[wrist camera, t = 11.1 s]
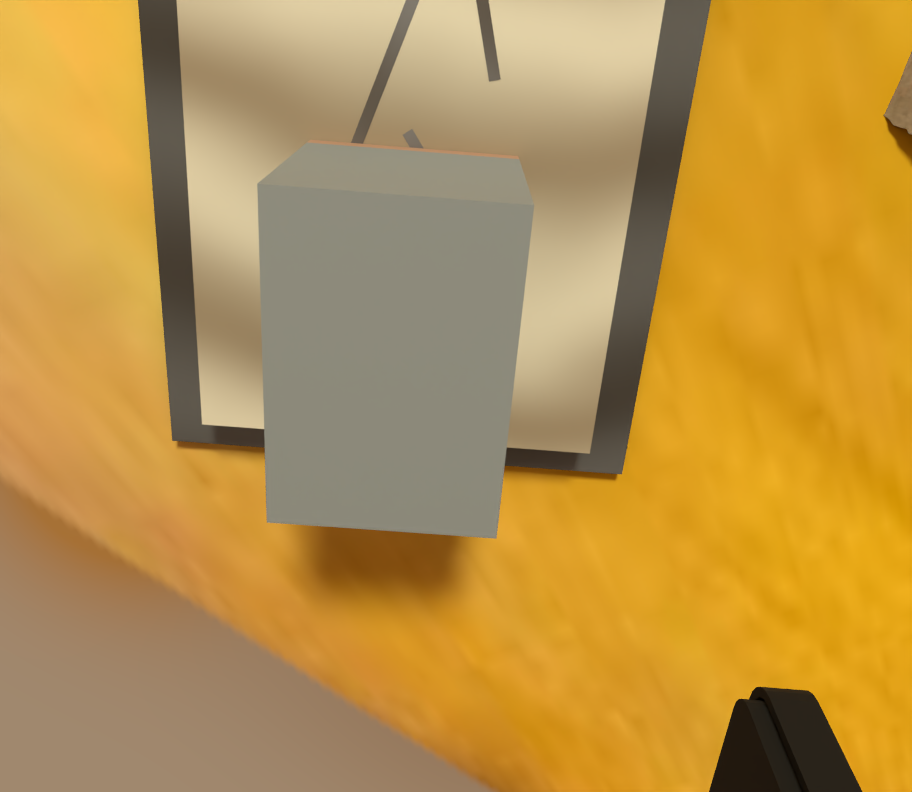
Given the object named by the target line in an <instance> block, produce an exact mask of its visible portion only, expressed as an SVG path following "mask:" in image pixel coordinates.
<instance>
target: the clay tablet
mask: <svg viewBox="0 0 912 792" xmlns="http://www.w3.org/2000/svg"><path fill="white" fill-rule="evenodd" d="M884 116H885V117H887V118H888V119H889V120H890V121H891V123H892V124H893V125H894V126H897V127H900V128H904V129H907V131H908V133H909V134H912V52H911V55H910V57H909V60H908V62H907V64H906V67H905V69H904V72H903V75H902V77H901V80H900V82H899V84H898V87H897V89H896V91H895V93H894V95H893V97H892V99H891V101H890V103H889V106H888V108H887V110H886V113H885V114H884Z"/></svg>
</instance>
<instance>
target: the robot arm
mask: <svg viewBox="0 0 912 792" xmlns="http://www.w3.org/2000/svg"><path fill="white" fill-rule="evenodd" d="M709 792H862V790H861V788H860V786H859V784H858V782H857V780H856V778H855V776H854V774H853V772H852V770H851V768H850V766H849V764H848V762H847V760H846V758H845V756H844V754H843V752H842V750H841V748H840V745H839V743H838V741H837V739H836V737H835V735H834V733H833V731H832V729H831V727H830V725H829V723H828V721H827V719H826V717H825V715H824V713H823V711H822V709H821V707H820V705H819V703H818V701H817V700H816V698H815V696H814V695H813V694H812V693H810V692H809V691H805V690H792V689H779V688H767V687H756V688H755V689H754V690H753V691H752V694H751V696H750V698H749V700H747V699H739V700H738V701H737V702H736V703H735V706H734V709H733V712H732V715H731V719H730V722H729V726H728V729H727V732H726V736H725V739H724V743H723V746H722V750H721V753H720V756H719V760H718V763H717V767H716V770H715V773H714V777H713V780H712V784H711V787H710V790H709Z"/></svg>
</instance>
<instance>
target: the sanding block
mask: <svg viewBox="0 0 912 792" xmlns="http://www.w3.org/2000/svg"><path fill="white" fill-rule="evenodd" d="M257 192H258V227H259V262H260V298H261V333H262V368H263V403H264V438H265V473H266V508H267V522H269V523H283V524H297V525H312V526H326V527H340V528H354V529H369V530H383V531H397V532H411V533H426V534H440V535H454V536H468V537H482V538H496V537H497V528H498V519H499V510H500V501H501V493H502V484H503V475H504V466H505V458H506V449H507V440H508V431H509V423H510V414H511V405H512V396H513V388H514V379H515V370H516V361H517V352H518V344H519V335H520V326H521V317H522V309H523V300H524V291H525V282H526V274H527V265H528V256H529V247H530V238H531V230H532V221H533V212H534V203H533V200H532V197H531V194H530V190H529V187H528V184H527V181H526V178H525V175H524V172H523V169H522V166H521V163H520V160H519V157H518V156H512V155H499V154H486V153H474V152H461V151H448V150H435V149H423V148H410V147H397V146H384V145H372V144H359V143H346V142H334V141H321V140H309V141H308V142H307V143H306V144H304V145H303V146H302V147H301V148H300V149H298V150H297V151H296V152H295V153H294V154H292V155H291V156H290V157H289V158H288V159H286V160H285V161H284V162H283V163H282V164H280V165H279V166H278V167H277V168H276V169H274V170H273V171H272V172H271V173H270V174H268V175H267V176H266V177H265V178H263V179H262V180H261V181H260V182H259V183H257Z"/></svg>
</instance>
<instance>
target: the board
mask: <svg viewBox="0 0 912 792" xmlns="http://www.w3.org/2000/svg"><path fill="white" fill-rule="evenodd" d="M710 2H711V0H138V6H139V19H140V31H141V44H142V57H143V70H144V83H145V95H146V108H147V121H148V134H149V147H150V160H151V172H152V185H153V198H154V211H155V224H156V236H157V249H158V262H159V275H160V288H161V300H162V313H163V326H164V339H165V352H166V364H167V377H168V390H169V403H170V416H171V428H172V441H185V442H199V443H212V444H225V445H239V446H252V447H265V438H264V403H263V368H262V333H261V298H260V262H259V227H258V192H257V183H259V182H260V181H261V180H262V179H263V178H265V177H266V176H267V175H268V174H270V173H271V172H272V171H273V170H274V169H276V168H277V167H278V166H279V165H280V164H282V163H283V162H284V161H285V160H286V159H288V158H289V157H290V156H291V155H292V154H294V153H295V152H296V151H297V150H298V149H300V148H301V147H302V146H303V145H304V144H306V143H307V142H308V141H309V140H321V141H334V142H346V143H359V144H372V145H384V146H397V147H410V148H423V149H435V150H448V151H461V152H474V153H486V154H499V155H512V156H518V157H519V160H520V163H521V166H522V169H523V172H524V175H525V178H526V181H527V184H528V187H529V190H530V194H531V197H532V200H533V203H534V212H533V221H532V230H531V238H530V247H529V256H528V265H527V274H526V282H525V291H524V300H523V309H522V317H521V326H520V335H519V344H518V352H517V361H516V370H515V379H514V388H513V396H512V405H511V414H510V423H509V431H508V440H507V449H506V458H505V466H519V467H532V468H545V469H559V470H572V471H585V472H599V473H612V474H622V470H623V465H624V460H625V455H626V449H627V444H628V439H629V433H630V428H631V423H632V417H633V412H634V407H635V401H636V396H637V391H638V385H639V380H640V375H641V369H642V364H643V359H644V353H645V348H646V343H647V338H648V332H649V327H650V322H651V316H652V311H653V306H654V300H655V295H656V290H657V284H658V279H659V274H660V268H661V263H662V258H663V252H664V247H665V242H666V236H667V231H668V226H669V221H670V215H671V210H672V205H673V199H674V194H675V189H676V183H677V178H678V173H679V167H680V162H681V157H682V151H683V146H684V141H685V135H686V130H687V125H688V119H689V114H690V109H691V104H692V98H693V93H694V88H695V82H696V77H697V72H698V66H699V61H700V56H701V50H702V45H703V40H704V34H705V29H706V24H707V18H708V13H709V8H710Z"/></svg>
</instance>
